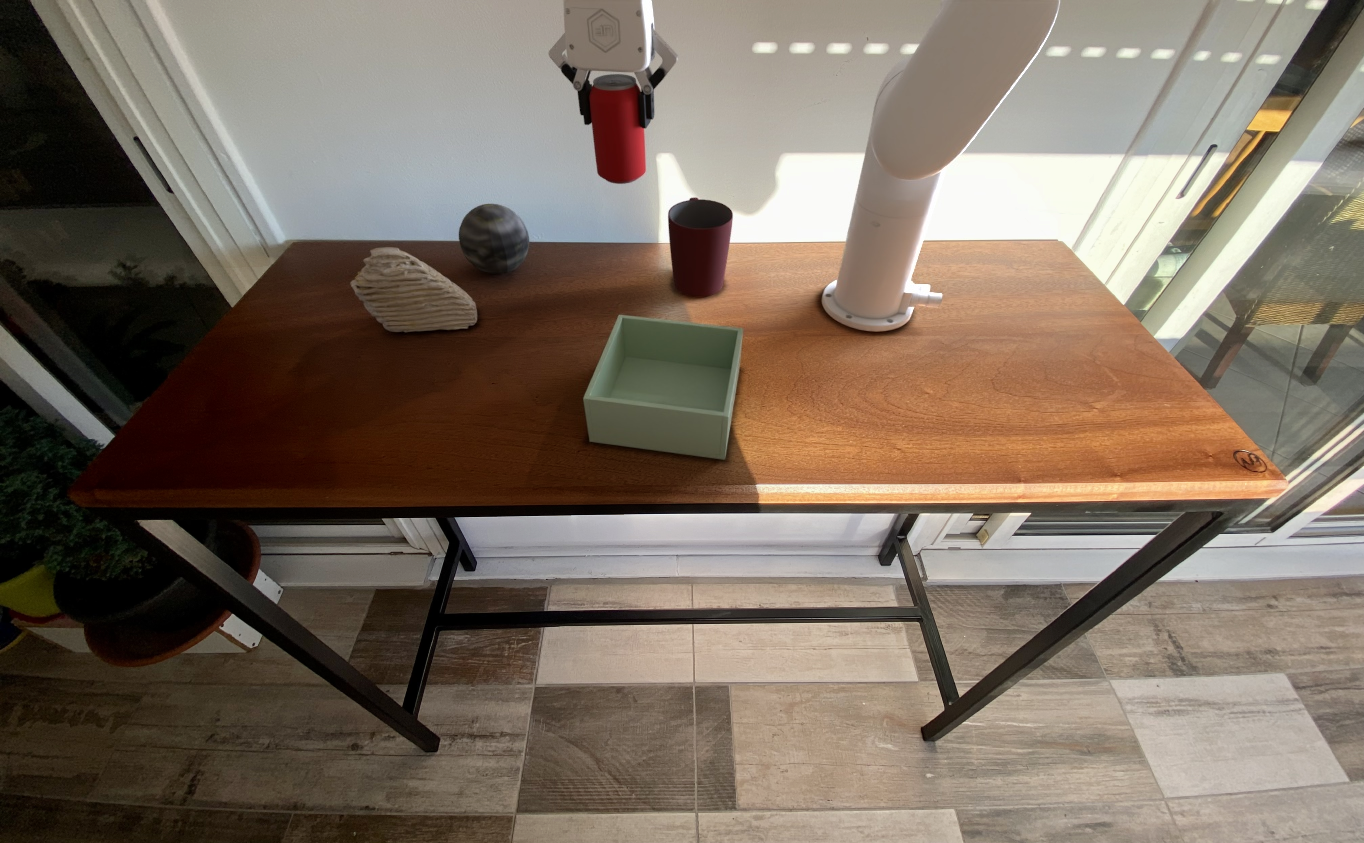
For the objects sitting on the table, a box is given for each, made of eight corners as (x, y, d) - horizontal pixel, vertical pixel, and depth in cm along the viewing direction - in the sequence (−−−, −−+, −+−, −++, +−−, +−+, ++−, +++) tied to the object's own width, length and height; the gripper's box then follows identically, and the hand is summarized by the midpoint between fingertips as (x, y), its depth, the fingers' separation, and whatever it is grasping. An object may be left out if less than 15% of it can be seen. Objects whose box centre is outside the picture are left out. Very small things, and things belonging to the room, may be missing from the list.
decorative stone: (524, 289, 88) (511, 225, 81) (458, 285, 88) (439, 221, 81) (541, 254, 95) (530, 193, 88) (480, 251, 96) (464, 190, 88)
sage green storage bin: (739, 370, 75) (743, 328, 70) (724, 459, 65) (728, 416, 60) (622, 356, 77) (618, 314, 72) (589, 441, 66) (582, 398, 62)
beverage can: (649, 167, 85) (645, 73, 76) (642, 188, 80) (636, 89, 71) (603, 166, 85) (593, 71, 77) (592, 185, 80) (581, 88, 72)
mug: (663, 259, 94) (662, 191, 86) (719, 256, 95) (722, 188, 87) (672, 302, 86) (671, 231, 78) (732, 298, 87) (738, 227, 79)
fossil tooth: (476, 340, 81) (359, 337, 79) (482, 311, 85) (371, 308, 83) (462, 267, 73) (330, 262, 71) (470, 240, 77) (345, 234, 75)
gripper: (516, -47, 63) (544, 129, 76) (676, -44, 61) (677, 138, 74) (541, -57, 69) (563, 110, 81) (689, -54, 66) (688, 117, 79)
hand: (617, 122), depth 77 cm, fingers closed on beverage can, 6 cm apart
